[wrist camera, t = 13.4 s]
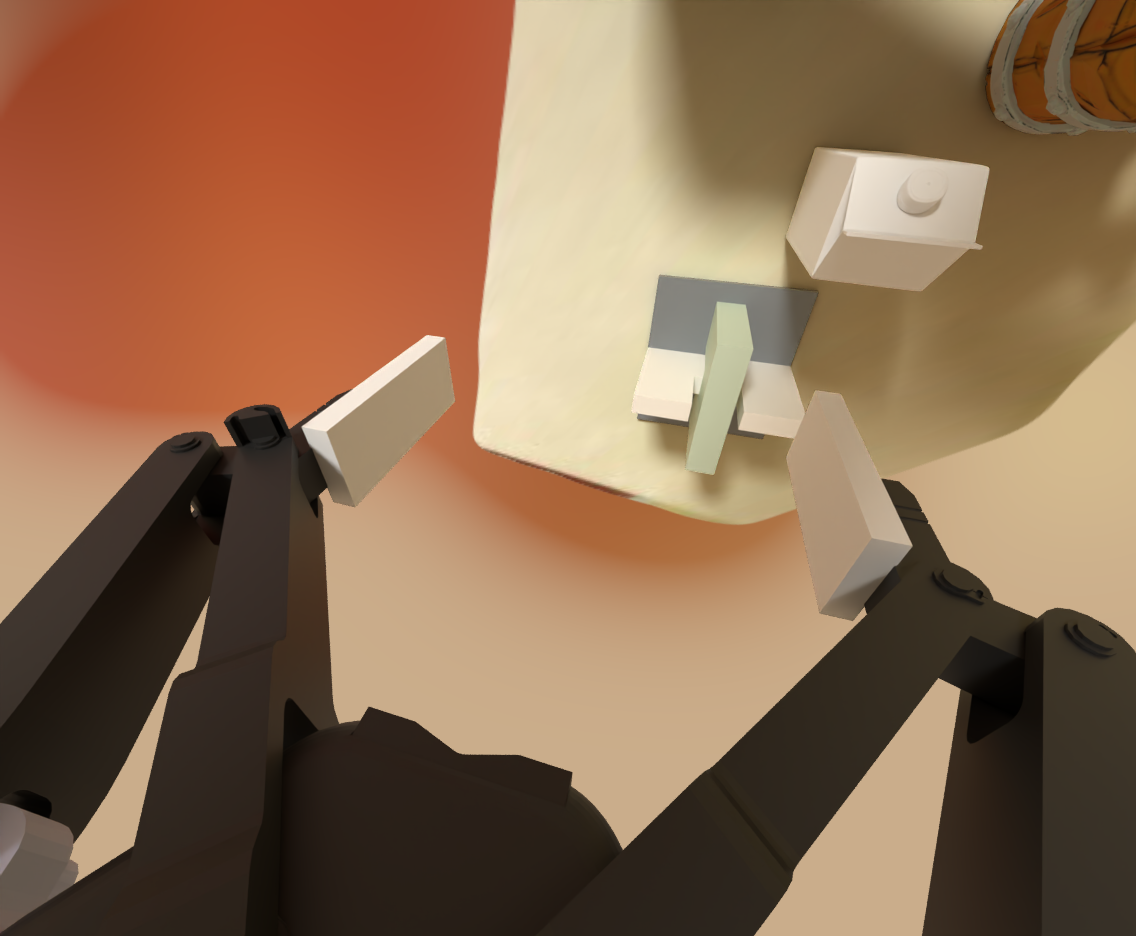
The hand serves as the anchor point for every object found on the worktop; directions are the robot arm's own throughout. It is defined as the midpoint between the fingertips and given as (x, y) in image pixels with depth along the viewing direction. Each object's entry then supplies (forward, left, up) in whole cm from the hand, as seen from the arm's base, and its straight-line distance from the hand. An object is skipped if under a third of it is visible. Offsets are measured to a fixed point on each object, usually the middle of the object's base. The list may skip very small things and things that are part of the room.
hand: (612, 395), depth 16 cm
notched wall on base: (+14, +7, -37) cm, 40 cm away
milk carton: (-3, +14, -37) cm, 40 cm away
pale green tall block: (+14, +7, -36) cm, 39 cm away
